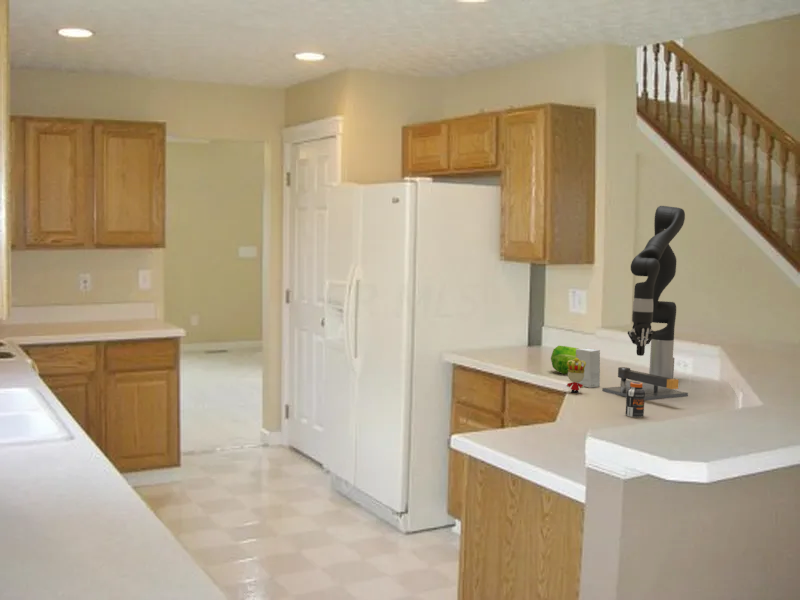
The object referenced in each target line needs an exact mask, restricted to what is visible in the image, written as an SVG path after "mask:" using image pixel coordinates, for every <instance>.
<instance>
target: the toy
mask: <svg viewBox="0 0 800 600" xmlns="http://www.w3.org/2000/svg"><path fill="white" fill-rule="evenodd" d="M575 356H576V355H575ZM577 356H579V355H577ZM570 361H572V363H571V366H570V364H569V362H570ZM582 362H583V363H584V366H583V367H582V366H581V365H582ZM575 363H578V365H575ZM567 365H568V373H567V378H568V380H569V381H570V382H567V383H566V387H567V388H570V390H571V391H570V392H571V394H579V393H580V392H579V391H580V389H584V388H585V387H584V386H583V385H582V384H579V383H578V382H580V381H582V380H583V378H584V371H585V370H584V368H585V366H586V362H585V361H583V360H582V361H581V360H579V359H578V358H575V359H574V360H568V362H567ZM577 384H578V385H577Z"/></svg>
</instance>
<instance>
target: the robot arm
mask: <svg viewBox="0 0 800 600" xmlns="http://www.w3.org/2000/svg"><path fill="white" fill-rule="evenodd" d="M685 221H686V214H685V210H684V209H683V208H681V207H676V206H669V205H659V206H657V208H656V210H655V213H654V223H653V225H654V226H653V227H654V229H653V230H654V235H653V236H652V237H651V238H650V239H649V240H648V241H647V243H646V245H645V247H644V248H643V250H641V251H640V252H639V253H638V254H637V255H636V256H635V257H633V259H632V261H631V262H630V263H631V264H630V271H631V273H632V275H634V276H636V277H647V278H646V280H645V281H641V282H637V283H635V285H634V291H633V292H634V294H633V295H634V296H633V302H632V315H631V316H632V317H631V321H632V323H633V324H632V327H631V328H632V329H631V330H628V331H627V335H628V337H629V339H630V340H631V341H630V342H632V344H633V345H635V346H636V355H637V356H640V357H641V356H644V355H645V350H646V347H645V346H647V345H649V344H650V355H649V357H650V358H649V370H648V372H649V373H648V374H652V375H657V376H662V377H667V378H671V379H674V375H675V374H674V373H675V372H674V371H675V357H674V346H675V345H674V344H675V343H674V342H675V341H674V340H675V325H676V317H677V305H676V302H674V301H664V300H662V301H661V300H659V299H660V298H661V294H662V293H663V291H664V290H665V289H666V288H667V287H668V285H669V284H670V283H671V282H672V281H673V279H674V278H675V277H676V272H677V256H676V254H675V252H674V251H673V248H672V247H671V245H670V243H671V242H672V240H673V239H675V237H676V235H678V233H679V232H680V231H681V229H682V228H683V226H684V223H685ZM652 323H655V324H656V323H657V324H666V326H664V327H663V328H661V329H659V330H658V329H657V330H653V329H652Z"/></svg>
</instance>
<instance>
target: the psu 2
mask: <svg viewBox="0 0 800 600" xmlns="http://www.w3.org/2000/svg"><path fill="white" fill-rule="evenodd" d="M654 391H655V392H665V391H671V389H669V388H666V387H661V386H657V385H654Z"/></svg>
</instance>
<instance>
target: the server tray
mask: <svg viewBox="0 0 800 600" xmlns="http://www.w3.org/2000/svg"><path fill="white" fill-rule="evenodd" d="M626 380H627V379H625V378H620V386H610V387H602V391H601V392H605V393H608V394H613V395H617V396H621V397H623V398H624V397H625V398H627V390H626ZM688 395H689V392H685V391H681V390H677V389H671V391H665V392H655V391H654V393H645V401H651V400H660V399H661V400H662V399H670V398H671V399H672V398H680V397H688Z"/></svg>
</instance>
